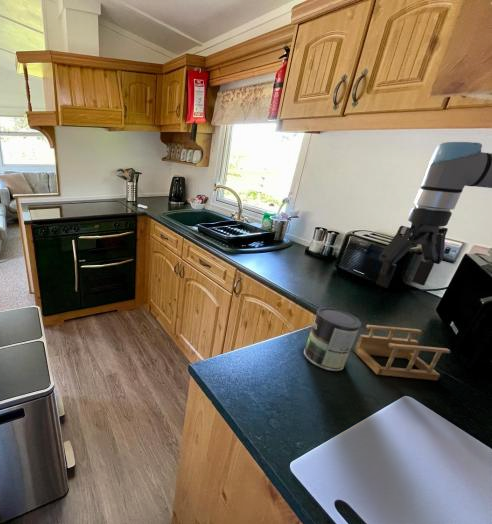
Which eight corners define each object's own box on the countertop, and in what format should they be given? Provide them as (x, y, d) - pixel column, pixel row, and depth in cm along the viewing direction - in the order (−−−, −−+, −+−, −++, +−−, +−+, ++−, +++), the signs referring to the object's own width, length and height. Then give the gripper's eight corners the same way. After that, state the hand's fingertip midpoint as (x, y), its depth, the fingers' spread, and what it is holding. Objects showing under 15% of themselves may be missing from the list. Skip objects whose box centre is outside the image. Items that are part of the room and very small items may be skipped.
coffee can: (299, 359, 82) (313, 316, 77) (307, 343, 90) (320, 303, 85) (342, 377, 76) (360, 332, 71) (346, 358, 84) (363, 316, 79)
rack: (353, 351, 88) (364, 324, 84) (407, 356, 87) (420, 329, 84) (376, 374, 78) (390, 345, 75) (437, 380, 78) (453, 351, 74)
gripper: (449, 206, 79) (417, 277, 87) (380, 204, 73) (352, 280, 80) (484, 212, 72) (447, 288, 80) (412, 210, 66) (379, 292, 74)
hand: (400, 284), depth 80 cm, fingers open, 13 cm apart
